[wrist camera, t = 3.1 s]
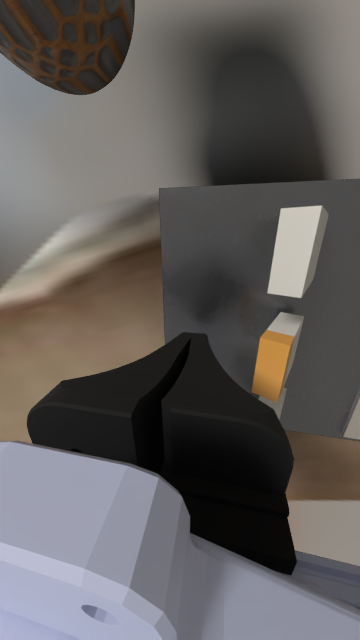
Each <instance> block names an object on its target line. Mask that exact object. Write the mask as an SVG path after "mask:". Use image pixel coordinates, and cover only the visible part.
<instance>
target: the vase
mask: <svg viewBox="0 0 360 640" xmlns="http://www.w3.org/2000/svg"><path fill="white" fill-rule="evenodd" d="M134 7H135V0H0V53H1V54H3V55H4V56H5V57H6V58H7V59H8V60H10V61H11V62H12V63H13V64H15V65H16V66H17V67H19V68H20V69H21V70H22V71H24V72H25V73H27V74H28V75H30V76H31V77H33V78H34V79H36V80H37V81H39V82H41V83H42V84H44V85H46V86H49V87H51V88H53V89H55V90H58V91H61V92H65V93H68V94H75V95H87V94H91V93H94V92H97V91H99V90H100V89H102V88H103V87H105V86H106V85H108V84H109V83H110V82H111V81H112V80H113V79H114V78H115V76H116V75H117V73H118V72H119V70H120V69H121V67H122V65H123V62H124V60H125V57H126V55H127V52H128V49H129V46H130V42H131V38H132V32H133V25H134V9H135V8H134Z"/></svg>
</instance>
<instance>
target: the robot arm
mask: <svg viewBox="0 0 360 640" xmlns="http://www.w3.org/2000/svg"><path fill="white" fill-rule="evenodd" d="M27 428H28V432H29V435H30V438H31V440H32V443H33V444H32V443H27V442H22V441H0V640H360V566H356V565H352V564H348V563H344V562H340V561H335V560H332V559H328V558H324V557H320V556H316V555H311V554H307V553H303V552H299V551H295V550H294V545H293V541H292V536H291V532H290V528H289V523H288V519H287V517H288V516H289V507H288V502H287V498H286V494H285V492H286V489H287V486H288V482H289V479H290V476H291V473H292V469H293V460H294V457H293V454H292V450H291V447H290V443H289V441H288V438H287V436H286V433H285V431H284V429H283V427H282V425H281V423H280V421H279V419H278V417H277V415H276V413H275V411H274V409H273V408H271V407H269V406H268V405H266V404H265V403H263V402H262V401H260V400H258V399H257V398H255V397H254V396H252V395H251V394H250V393H248V392H247V391H246V390H244V389H243V388H242V387H241V386H239V385H238V384H237V383H236V382H235V381H234V380H233V379H232V378H231V377H230V376H229V375H228V374H227V373H226V371H225V370H224V369H223V368H222V366H221V365H220V363H219V362H218V360H217V359H216V357H215V355H214V353H213V351H212V349H211V347H210V345H209V342H208V336H207V335H206V334H203V333H190V332H182V333H181V334H179V335H178V336H177V337H175V338H174V339H173V340H171V341H170V342H168V343H167V344H166V345H164V346H162V347H161V348H159V349H158V350H156V351H154V352H153V353H151V354H149V355H147V356H145V357H143V358H141V359H139V360H137V361H135V362H132V363H130V364H127V365H124V366H122V367H119V368H116V369H113V370H110V371H106V372H102V373H99V374H95V375H90V376H85V377H80V378H75V379H70V380H63V381H61V382H60V383H59V384H58V385H57V386H56V387H55V388H54V389H53V390H51V391H50V392H49V393H48V394H47V395H46V396H45V397H44V398H43V399H42V400H40V401H39V402H38V403H37V404H36V405H35V406H34V407H33V408H32V409H31V410H30V412H29V414H28V417H27Z"/></svg>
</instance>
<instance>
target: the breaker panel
mask: <svg viewBox="0 0 360 640" xmlns="http://www.w3.org/2000/svg"><path fill="white" fill-rule="evenodd" d="M159 201H160V227H161V254H162V280H163V306H164V333H165V345H166V344H167V343H168V342H170V341H171V340H173V339H174V338H175V337H177V336H178V335H179V334H181V333H182V332H190V333H203V334H206V335H207V336H208V342H209V345H210V347H211V349H212V351H213V353H214V355H215V357H216V359H217V360H218V362H219V363H220V365H221V366H222V368H223V369H224V370H225V371H226V373H227V374H228V375H229V376H230V377H231V378H232V379H233V380H234V381H235V382H236V383H237V384H238V385H239V386H241V387H242V388H243V389H244V390H246V391H247V392H248V393H250V394H251V395H252V396H254V397H255V398H257V399H259V397H260V395H257V394H255V393H252V386H253V380H254V373H255V367H256V361H257V355H258V348H259V342H260V337H261V336H262V335H263V334H264V332H265V331H266V330H267V329H268V327H269V326H270V325H271V324H272V322H273V321H274V320H275V319H276V317H277V316H278V315H279V314H280V312H284V313H289V314H294V315H300V316H304V320H303V324H302V328H301V332H300V336H299V340H298V344H297V349H296V353H295V357H294V361H293V364H292V367H291V369H290V372H289V375H288V377H287V380H286V382H285V385H284V387H283V388H286V389H287V390H286V394H285V399H284V403H283V407H282V411H281V415H280V419H279V421H280V423H281V425H282V427H283V429H284V430H289V431H295V432H302V433H309V434H315V435H322V436H328V437H335V438H341V439H348V440H354V441H360V179H345V180H325V181H303V182H283V183H263V184H241V185H222V186H199V187H179V188H159ZM308 206H323V207H324V209H325V210H326V211H327V213H328V214H329V216H328V220H327V224H326V228H325V232H324V236H323V240H322V245H321V249H320V253H319V257H318V261H317V265H316V270H315V274H314V278H313V281H312V282H311V284H310V285H309V287H308V288H307V290H306V292H305V293H304V295H303V296H302V298H297V297H290V296H283V295H276V294H269V293H267V292H268V286H269V280H270V273H271V267H272V261H273V255H274V248H275V242H276V236H277V230H278V223H279V217H280V211H281V208H294V207H308Z"/></svg>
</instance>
